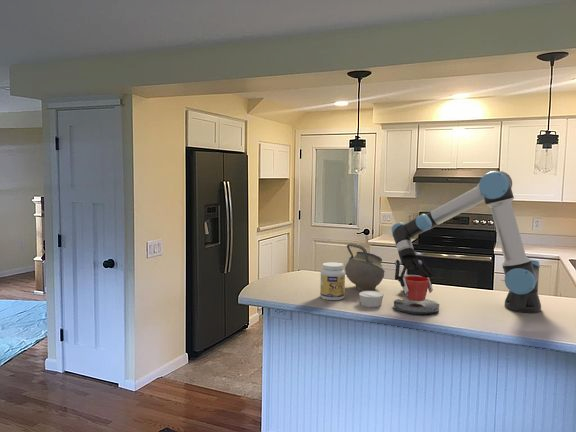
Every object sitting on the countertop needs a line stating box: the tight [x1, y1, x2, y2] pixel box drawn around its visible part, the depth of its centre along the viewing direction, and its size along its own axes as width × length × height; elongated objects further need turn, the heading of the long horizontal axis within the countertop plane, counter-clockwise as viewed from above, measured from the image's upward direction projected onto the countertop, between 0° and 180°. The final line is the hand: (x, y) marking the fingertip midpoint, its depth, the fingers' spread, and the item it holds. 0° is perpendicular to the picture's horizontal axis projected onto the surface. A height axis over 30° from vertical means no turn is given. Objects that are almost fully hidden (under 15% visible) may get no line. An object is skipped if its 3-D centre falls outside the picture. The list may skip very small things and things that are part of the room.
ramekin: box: [358, 290, 384, 308], centre depth 221 cm, size 11×11×5 cm
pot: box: [344, 242, 386, 292], centre depth 248 cm, size 21×21×25 cm
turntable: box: [393, 297, 440, 315], centre depth 214 cm, size 20×20×2 cm
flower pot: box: [405, 275, 429, 301], centre depth 214 cm, size 11×11×10 cm
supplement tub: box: [319, 261, 346, 301], centre depth 232 cm, size 12×12×17 cm
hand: (419, 291), depth 211 cm, fingers closed on flower pot, 11 cm apart
